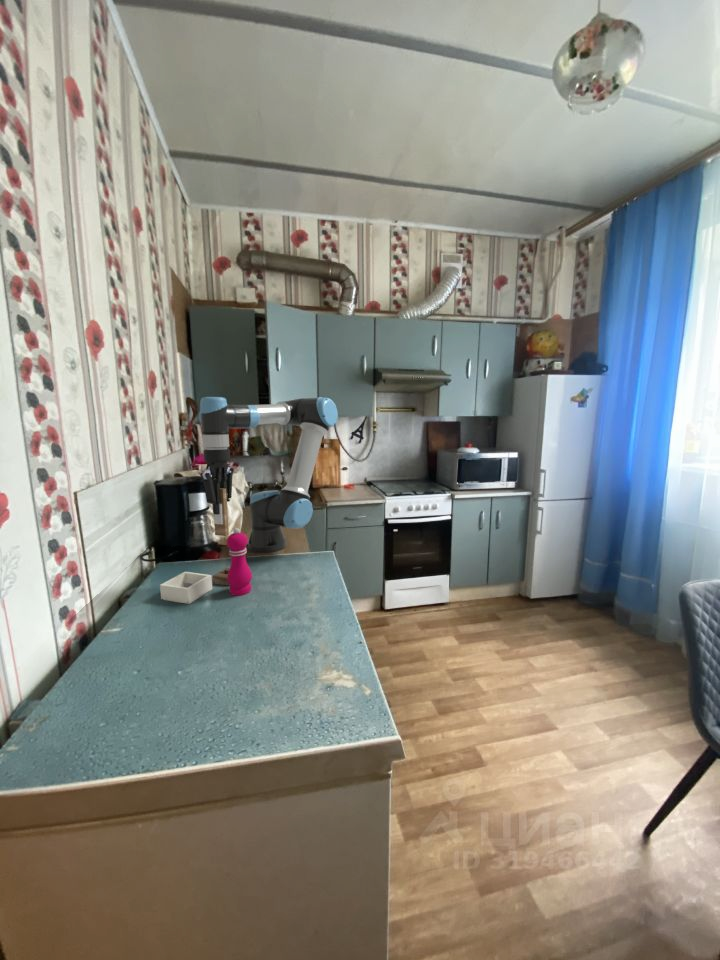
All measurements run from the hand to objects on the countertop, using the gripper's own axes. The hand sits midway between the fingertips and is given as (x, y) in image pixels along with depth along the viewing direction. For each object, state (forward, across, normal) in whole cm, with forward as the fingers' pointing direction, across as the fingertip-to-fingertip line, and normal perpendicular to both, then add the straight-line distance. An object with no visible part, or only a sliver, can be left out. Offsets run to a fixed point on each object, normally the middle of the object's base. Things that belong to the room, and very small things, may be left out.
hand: (221, 522), depth 118 cm
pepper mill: (+20, +4, +9) cm, 22 cm away
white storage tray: (+20, +10, -5) cm, 23 cm away
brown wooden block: (+4, 0, 0) cm, 4 cm away
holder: (+20, -2, +1) cm, 20 cm away
